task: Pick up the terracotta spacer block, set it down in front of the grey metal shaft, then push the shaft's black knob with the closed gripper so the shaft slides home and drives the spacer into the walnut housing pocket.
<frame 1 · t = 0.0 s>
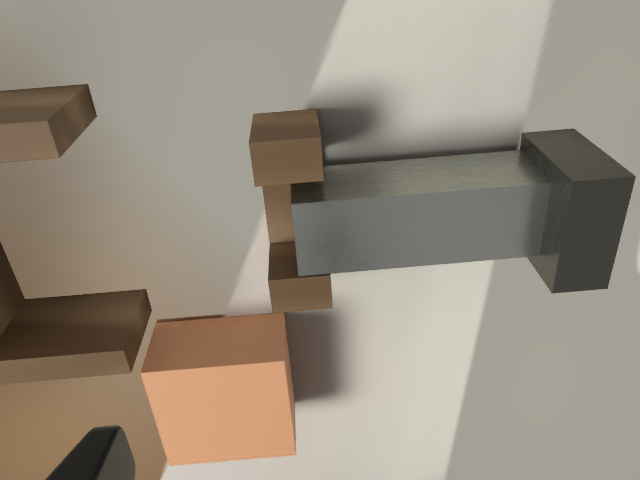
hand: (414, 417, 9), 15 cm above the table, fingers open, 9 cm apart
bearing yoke: (293, 196, 23), on the table
spacer: (229, 361, 28), on the table
housing: (50, 216, 23), on the table
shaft: (442, 218, 21), point 3 cm above the table, slide at 0.0 cm
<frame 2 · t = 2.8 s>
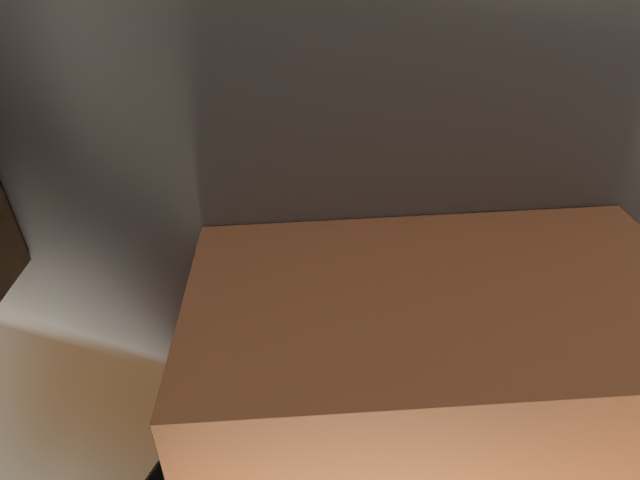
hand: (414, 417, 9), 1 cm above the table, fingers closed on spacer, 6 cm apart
spacer: (402, 370, 9), on the table, touching gripper
when the fingers open (3 cm above the table, at t = 7.0 s): spacer drops 2 cm, on the table.
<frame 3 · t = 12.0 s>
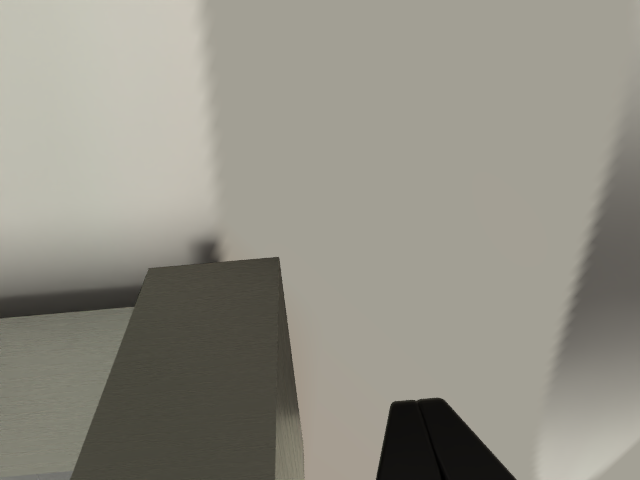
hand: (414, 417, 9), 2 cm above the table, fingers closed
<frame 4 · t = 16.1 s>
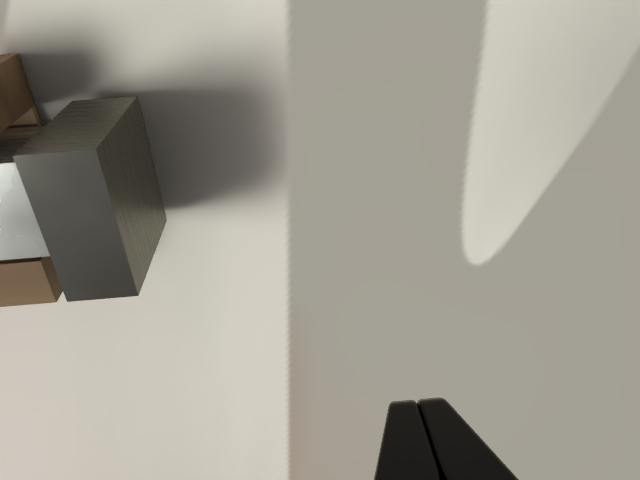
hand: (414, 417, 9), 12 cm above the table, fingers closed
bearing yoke: (18, 166, 19), on the table
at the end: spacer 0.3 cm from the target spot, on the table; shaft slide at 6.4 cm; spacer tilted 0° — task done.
